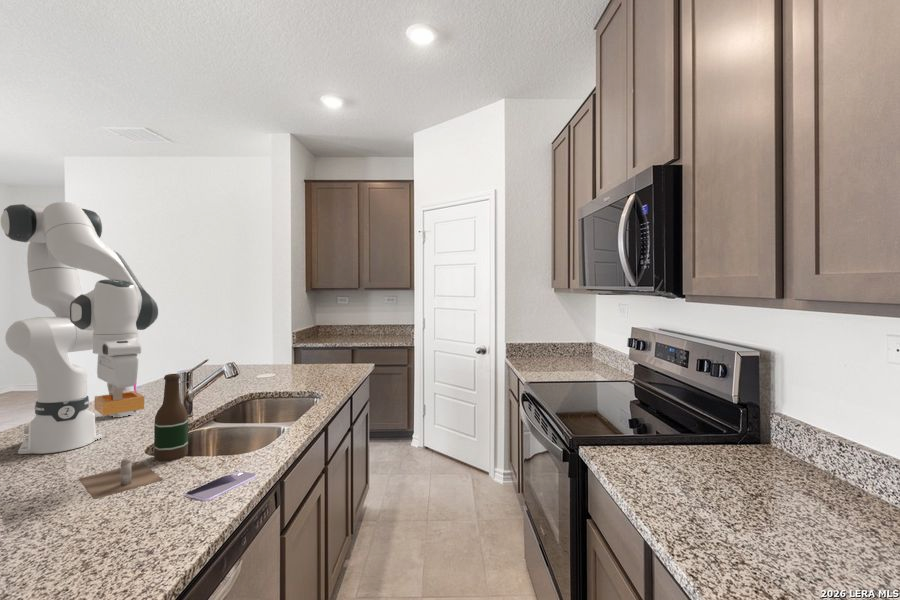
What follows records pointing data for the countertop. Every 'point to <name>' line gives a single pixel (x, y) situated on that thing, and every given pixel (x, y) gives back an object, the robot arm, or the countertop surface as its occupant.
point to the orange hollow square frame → (119, 403)
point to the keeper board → (119, 479)
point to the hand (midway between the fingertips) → (115, 400)
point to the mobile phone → (220, 486)
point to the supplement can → (128, 389)
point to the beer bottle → (171, 424)
